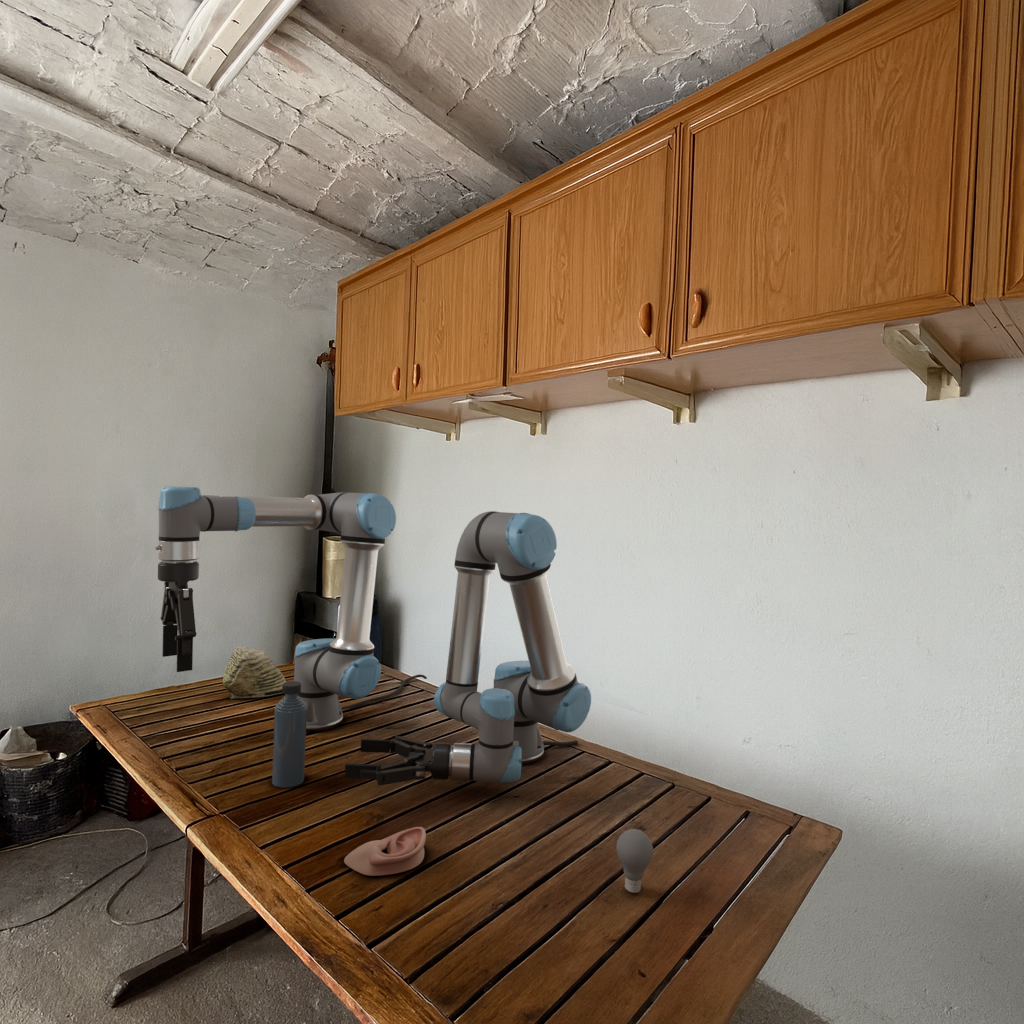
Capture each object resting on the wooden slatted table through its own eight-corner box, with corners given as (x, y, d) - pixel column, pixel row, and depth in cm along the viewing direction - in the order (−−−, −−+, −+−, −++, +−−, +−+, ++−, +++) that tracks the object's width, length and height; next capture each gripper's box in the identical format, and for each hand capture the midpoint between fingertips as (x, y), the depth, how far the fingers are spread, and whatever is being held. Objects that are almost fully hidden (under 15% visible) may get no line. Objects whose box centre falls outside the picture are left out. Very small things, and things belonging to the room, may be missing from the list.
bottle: (290, 771, 145) (293, 679, 145) (310, 779, 142) (314, 684, 141) (265, 782, 139) (268, 686, 139) (286, 790, 136) (289, 692, 136)
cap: (292, 688, 143) (292, 680, 143) (304, 691, 141) (305, 683, 141) (278, 692, 139) (278, 684, 139) (290, 695, 137) (290, 687, 137)
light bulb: (610, 879, 108) (613, 822, 108) (644, 879, 109) (647, 822, 109) (619, 902, 102) (622, 840, 102) (655, 901, 103) (658, 840, 103)
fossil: (218, 695, 195) (220, 647, 195) (278, 685, 208) (279, 640, 207) (228, 703, 189) (230, 653, 188) (289, 692, 201) (290, 645, 201)
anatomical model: (336, 847, 108) (365, 815, 119) (335, 870, 108) (364, 836, 119) (410, 859, 105) (432, 825, 116) (409, 883, 105) (431, 846, 116)
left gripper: (146, 555, 138) (145, 652, 139) (171, 568, 119) (169, 680, 119) (184, 554, 143) (182, 647, 143) (214, 567, 123) (212, 674, 124)
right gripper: (443, 806, 126) (337, 801, 126) (455, 755, 151) (366, 751, 151) (445, 768, 126) (338, 764, 126) (456, 724, 151) (367, 720, 151)
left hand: (176, 663), depth 131 cm, fingers open, 13 cm apart
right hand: (353, 757), depth 138 cm, fingers open, 13 cm apart
